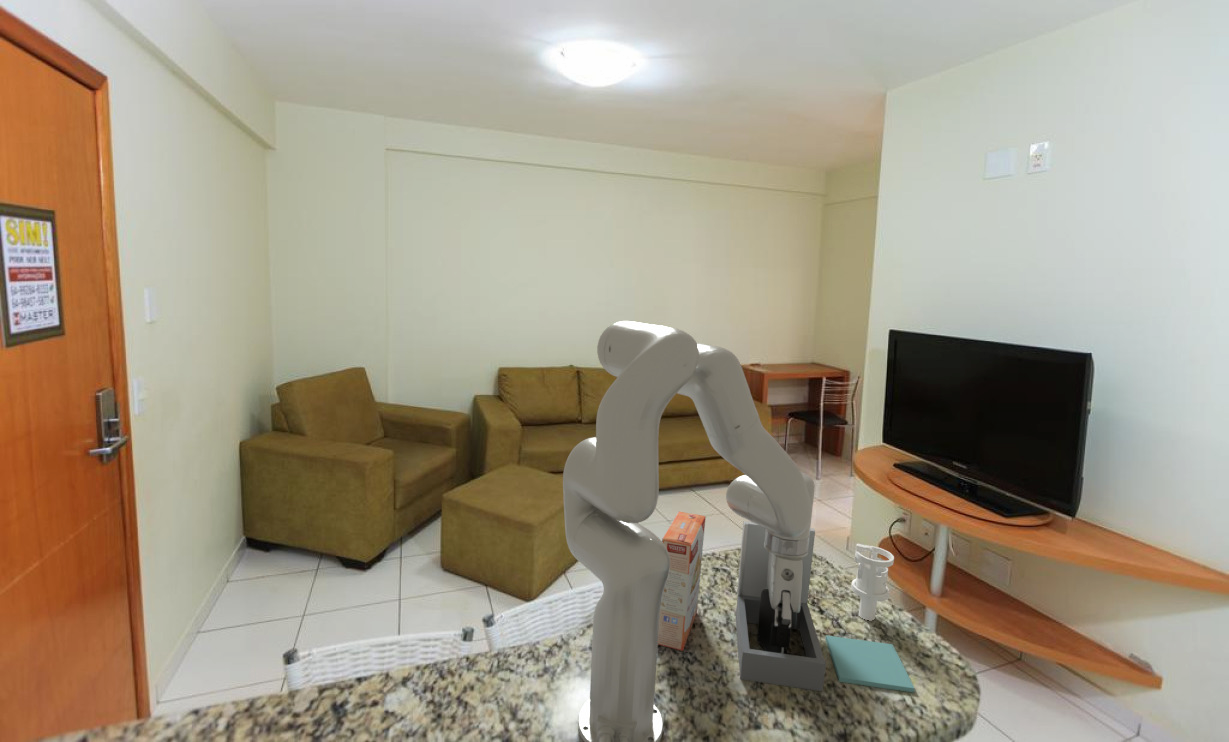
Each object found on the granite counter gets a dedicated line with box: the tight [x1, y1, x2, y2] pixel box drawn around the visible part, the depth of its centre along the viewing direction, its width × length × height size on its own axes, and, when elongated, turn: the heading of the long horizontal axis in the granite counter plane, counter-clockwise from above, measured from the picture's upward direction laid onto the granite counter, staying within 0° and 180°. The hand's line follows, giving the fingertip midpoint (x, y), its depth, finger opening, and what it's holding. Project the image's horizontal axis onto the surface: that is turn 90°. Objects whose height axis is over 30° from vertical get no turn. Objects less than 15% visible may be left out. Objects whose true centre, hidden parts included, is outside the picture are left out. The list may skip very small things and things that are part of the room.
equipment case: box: [735, 520, 827, 692], centre depth 104 cm, size 20×13×20 cm
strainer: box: [850, 543, 895, 622], centre depth 117 cm, size 7×7×15 cm
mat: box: [825, 634, 916, 694], centre depth 103 cm, size 12×12×1 cm
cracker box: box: [658, 511, 707, 652], centre depth 109 cm, size 14×6×21 cm, turn 161°
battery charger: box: [756, 588, 797, 655], centre depth 105 cm, size 7×4×11 cm, turn 20°
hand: (777, 631), depth 105 cm, fingers closed on battery charger, 7 cm apart
